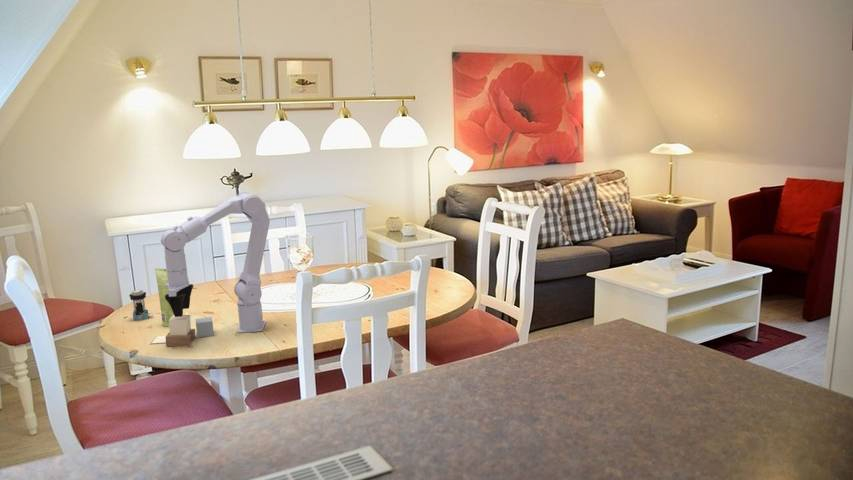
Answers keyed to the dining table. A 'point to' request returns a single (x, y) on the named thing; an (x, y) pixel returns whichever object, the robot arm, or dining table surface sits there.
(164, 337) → the swatch
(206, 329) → the slate cube
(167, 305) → the tube
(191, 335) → the walnut block
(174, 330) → the cream cube
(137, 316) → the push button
